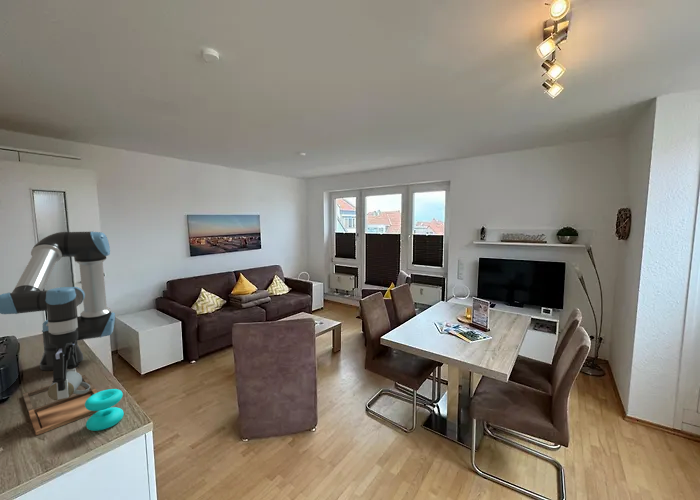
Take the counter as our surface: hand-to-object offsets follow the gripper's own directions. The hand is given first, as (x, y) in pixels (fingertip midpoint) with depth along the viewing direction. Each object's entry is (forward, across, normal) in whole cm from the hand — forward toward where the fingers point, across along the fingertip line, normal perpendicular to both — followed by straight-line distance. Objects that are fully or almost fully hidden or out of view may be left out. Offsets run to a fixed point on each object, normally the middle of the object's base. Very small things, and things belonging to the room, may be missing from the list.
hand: (67, 391), depth 107 cm
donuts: (+8, +14, +13) cm, 21 cm away
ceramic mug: (+2, 0, +1) cm, 2 cm away
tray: (+7, -8, -3) cm, 11 cm away
